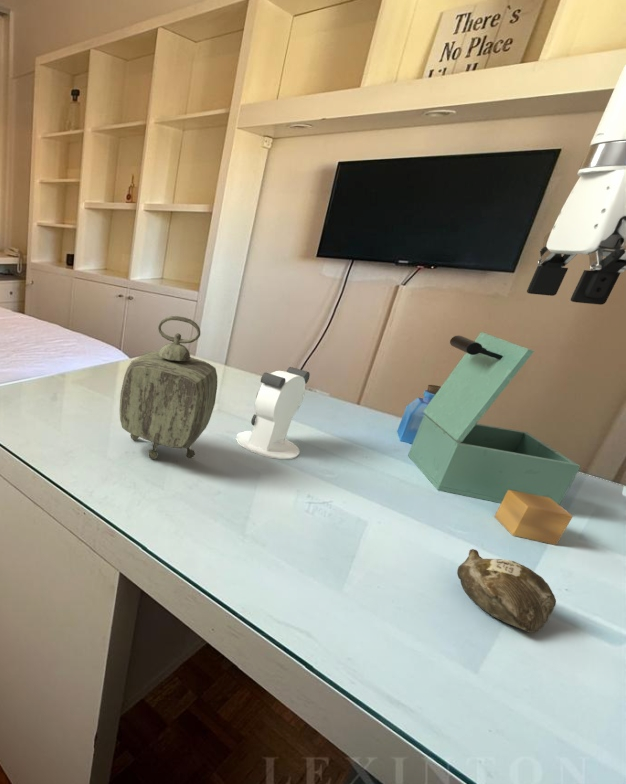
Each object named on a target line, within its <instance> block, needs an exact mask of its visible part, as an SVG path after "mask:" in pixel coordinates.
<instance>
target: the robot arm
mask: <svg viewBox="0 0 626 784" xmlns="http://www.w3.org/2000/svg"><path fill="white" fill-rule="evenodd" d="M576 175H577V176H579V178H578V180H577V181H576V183H575V184H574V185H573V188H572V189H571V191H570V193H569V195H568V197H567V198H566V201H565V202H564V204H563V206H562V207H561V210H560V211H559V214H558V216H557V218H556V220H555V222H554V225H553V226H552V228H551V231H549V232H548V233H546V234H545V235H544V236H543V242H542V248H540V251H539V254H540V257H539V258H538V260H537V262H536V264H537V267H536V269H535V271H534V274H533V276H532V278H531V280H530V282H529V285H528V287H527V289H526V293H527V294H530V295H540V296H552V297H553V296H556V295H557V293H558V292H559V289H560V287H561V285H562V283H563V281H564V278H565V276H566V274H567V272H568V270H569V267H566V266H567V265H568V264H569V263H570V262H571V261H572V260H573V259H574V258H575V257H576V256H577V255H586V256H588V261H589V270H588V269H584V270H583V272H582V273H581V275H580V278H579V280H578V282H577V283H576V286H575V289H574V291H573V292H572V295H571V297H570V301H571V302H573V303H578V304H590V305H598V306H599V305H600V306H601V305H604V304H606V303H607V301H608V300H609V297H610V295H611V293H612V291H613V289H614V287H615V285H616V283H617V281H618V279H619V277H620V275H621V274H622V273H624V272H625V271H626V64H625V65H624V67H623V68H622V70H621V72H620V75H619V77H618V79H617V81H616V84H615V86H614V88H613V91H612V94H611V96H610V97H609V100H608V102H607V104H606V107H605V109H604V112H603V113H602V116H601V118H600V121H599V123H598V125H597V127H596V130H595V132H594V134H593V136H592V139H591V141H590V143H589V146H588V148H587V150H586V152H585V154H584V157H583V159H582V162H581V164H580V166H579V167H578V171H577V173H576Z"/></svg>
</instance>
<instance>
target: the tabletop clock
mask: <svg viewBox="0 0 626 784" xmlns="http://www.w3.org/2000/svg"><path fill="white" fill-rule="evenodd" d="M169 321H178V322H183V323H186V324H189V325H192V326H193V327H194V329H195V330H196V332H197V333H196V336H195V337H193V338H187V339H184V338H182V335H181V334H180V333H175V334H174V337H173V336H170V335H168V334H166V333H164V332H163V331H162V326H163V324H165V323H166V322H169ZM157 330H158V333H159V334H160V336H161V337H162V338H164V339H165V340H167V341H169V343H166V344H165V345H164V346H162V347H161V348H160V350H158V351H151V352H147V353H145V354H143V355H140V356H139V357H137V358H135V359H133V360H131V361H130V363H129V365H128V366H127V368H126V371H125V373H124V377H123V380H122V386H121V389H120V396H119V397H120V399H119V420H120V425H121V428H122V429H123V430H124V431H125V432H127V433H129V434H130V439H131V440H133V441H137V440H139V438H141V439H143V440H146V441H148V442H151V443H153V444H152V449H151V450H149V451H148V453H147V457H148V458H149V459H151V460H155V459H157V458H158V452H157V447H158V445H161V446H166V447H169V448H175V449H183V450H184V449H185V450H186V451H185V456H186V458H188V459H192V458H194V457H195V456H196V452H195V450H194V449H192V448H191V447H192V446H193V445H194V443H195V442H197V439H198V438H199V437H200V436H201V435H202V434H203V432H204V431H205V430H206V429H207V427H208V424H209V422H210V421H211V417H212V414H213V412H214V408H215V405H216V400H217V399H216V398H217V390H218V373H217V369H216V367H215V366H213V365H212V364H210V363H209V362H206V361H205V360H202V359H198V358H195V357H192V356H191V354H190V351H189V349H188V348H187V347H186V346H185V345H184V344H190V343H193V342H196V341H198V339H199V338H200V337H201V329H200V326H199V325H198V323H197V322H196V321H194V320H193V319H191V318H188V317H184V316H178V315H171V316H167V317H165V318H163V319H161V320H160V322H159V324H158V325H157Z"/></svg>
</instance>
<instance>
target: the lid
mask: <svg viewBox="0 0 626 784" xmlns="http://www.w3.org/2000/svg"><path fill="white" fill-rule="evenodd" d="M449 344H450V346H451V347H453V348H456V349H458V350H460V351H461V352H464V353H465V354H464V355H463V356H462V358H461V359H460V360H459V362H458V363H457V365H456V366H455V367H454V369H452V370H451V371H452V372H450V374H449V375H448V376H447V378H446V379H445V380H444V382H443V384H442V385H441V388H440V389H439V390H438V392H437V393H436V395H435V396H434V397H433V399H432V400H431V401H430V403H429V404H428V405H427V407H426V408H425V410H424V411H423V412H424V413H425V414H426V415H427V416H429V417H430V418H431V419H432V420H433V421H434V422H436V423H437V424H438V425H439V426H440V427H441V428H443V429H444V430H445V431H446V432H447V433H449V434H450V435H451V436H452V437H453V438H454V439H456V440H457V441H459V442H462V441H463V440H464V439H465V437H466V436H467V435H468V434H469V432H470V431H471V430H472V429H473V427H474V426H475V425H476V424H478V423H479V421H480V420H481V419H482V417H483V416H484V415H485V414H486V412H487V411H488V410H489V409H490V407H491V406H492V405H493V404H494V402H495V401H496V400H497V399H498V397H499V396H500V395H502V393H503V391H504V390H505V389H506V387H508V385H509V384H510V383H511V381H512V380H513V379H514V377H515V376H516V375H517V374H518V373H519V371H520V370H521V369H522V367H523V366H524V365H525V364H526V362H527V361H529V359H530V357H531V356H532V355H533V354H534V352H535V350H532V349H529V348H527V347H524V346H522V345H518V344H516V343H513V342H511V341H508V340H505V339H502V338H500V337H498V336H497V337H496V336H494V335H492V334H489V333H486V332H483V331H481V332H480V333H479V334H478V335H477V337H476V338H475V340H472V339H471V338H467V337H465V336H462V335H454V336H453V337H451V339H450V340H449Z"/></svg>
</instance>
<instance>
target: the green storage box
mask: <svg viewBox="0 0 626 784" xmlns="http://www.w3.org/2000/svg"><path fill="white" fill-rule="evenodd" d="M407 457H408V458H409V459H410V460H411V461H412V462H413V463H414V465H415V466H416V467H417V468H418V469H419V470H420V472H421V473H422V474H423V475H424V477H426V479H427V480H428V481H429V482H430V483H431V484H432V485H433V487H435V489H436V490H437V491H441V492H446V493H450V494H455V495H460V496H464V497H465V496H466V497H469V498H475V499H478V500H479V499H480V500H484V501H488V502H489V501H490V502H493V503H499V504H501V503H502V501H503V499H504V497H505V495H506V493H507V491H508V490H513V491H518V492H523V493H528V494H533V495H538V496H543V497H548V498H551V499H552V500H553V501H554V502H556V503H557V504H558V505H559V506H561V503H562V501H563V500H564V497H565V496H566V495H567V492H568V491H569V488H570V487H571V485H572V484H573V481H574V480H575V478H576V476H577V474H578V473H579V471H580V469H581V467H582V465H580V464H578V463H576V462H575V461H573V460H572V459H571V458H569V457H567V456H565V454H562V453H561V452H559V451H558V450H556V449H554V448H553V447H551V446H550V445H549V444H547V443H545V442H544V441H542V440H540V439H539V438H537V437H535V436H534V435H533V434H531V433H529V432H528V431H523V430H518V429H511V428H505V427H500V426H493V425H487V424H482V423H477V424H476V425H475V426H474V427H473V429H472V430H471V431H470V432H469V434H468V435H467V436H466V437H465V439H464V440H463V441H462V442H459V441H457V440H456V439H454V438H453V437H452V436H451V435H450V434H449V433H447V432H446V431H445V430H444V429H443V428H441V427H440V426H439V425H438V424H437V423H436V422H434V421H433V420H432V419H431V418H430V417H429V416H427V415H424V417H423V419H422V422H421V424H420V427H419V429H418V432H417V434H416V437H415V439H414V441H413V444H411V446H410V448H409V451H408V455H407Z"/></svg>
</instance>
